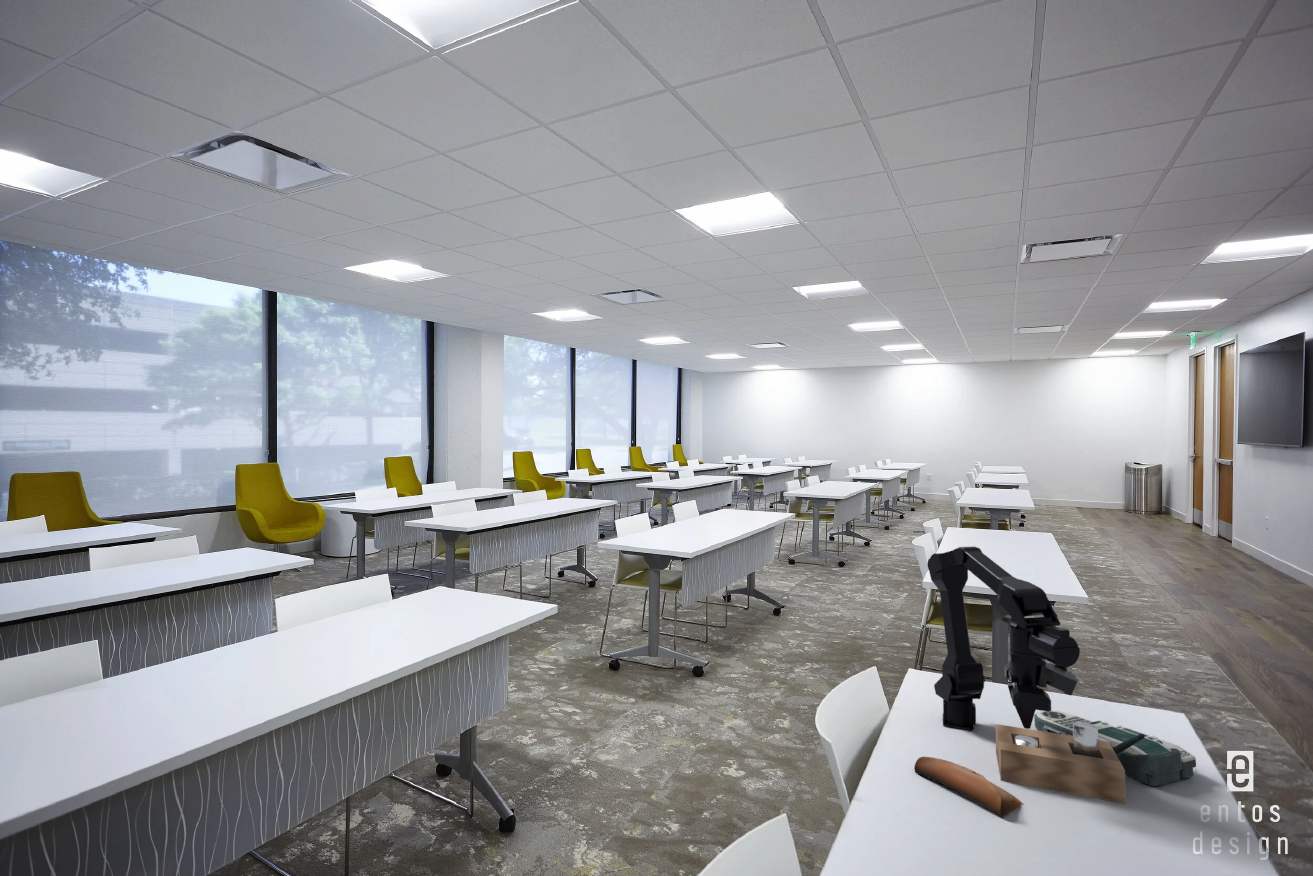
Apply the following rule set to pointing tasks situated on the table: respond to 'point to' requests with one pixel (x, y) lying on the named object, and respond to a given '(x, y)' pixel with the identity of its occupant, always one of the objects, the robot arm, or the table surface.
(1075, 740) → the pin
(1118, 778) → the pin block
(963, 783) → the sunglasses case
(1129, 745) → the communication device
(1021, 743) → the pin
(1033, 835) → the table surface
